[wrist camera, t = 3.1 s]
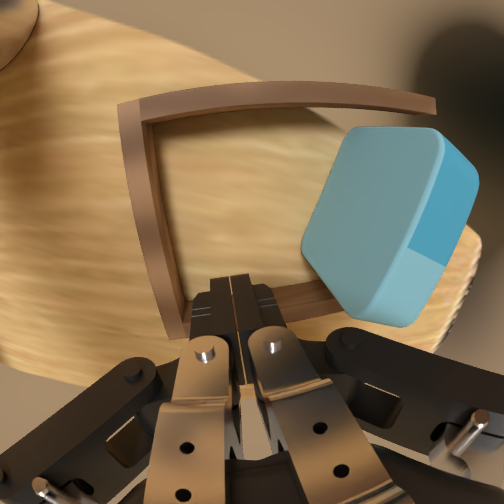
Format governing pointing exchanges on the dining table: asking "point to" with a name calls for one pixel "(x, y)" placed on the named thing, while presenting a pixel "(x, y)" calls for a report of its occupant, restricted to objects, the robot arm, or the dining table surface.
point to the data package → (389, 221)
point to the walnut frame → (216, 101)
